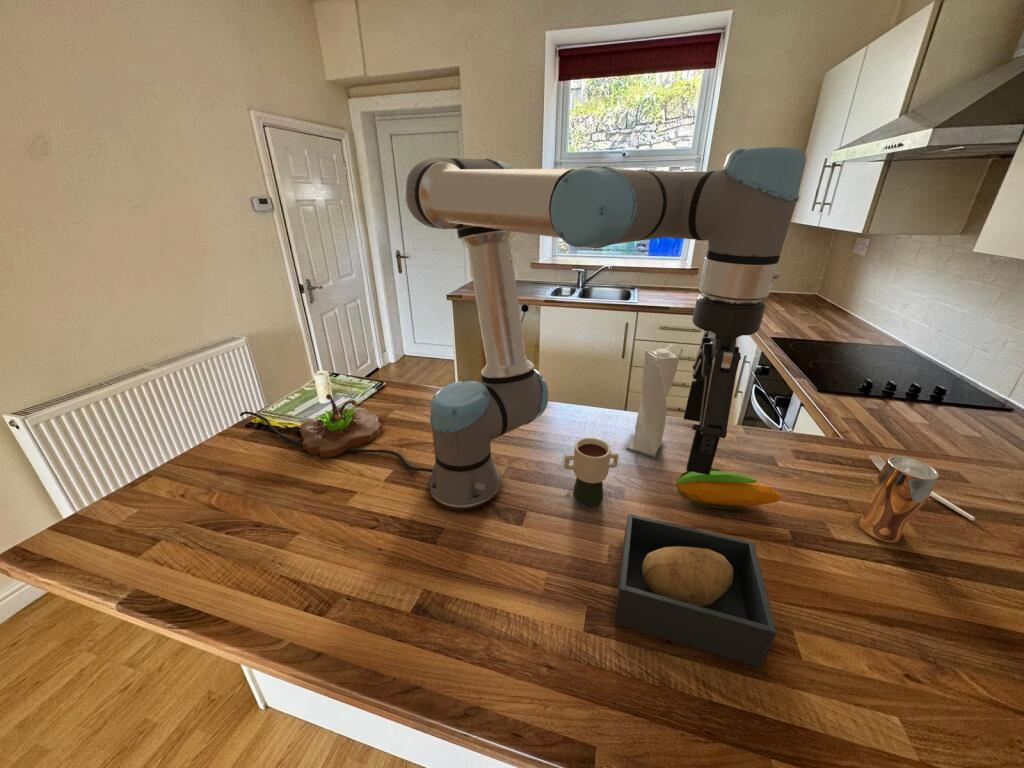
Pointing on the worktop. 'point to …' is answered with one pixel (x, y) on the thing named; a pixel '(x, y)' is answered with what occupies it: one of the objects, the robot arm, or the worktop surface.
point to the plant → (339, 430)
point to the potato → (687, 574)
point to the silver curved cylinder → (897, 497)
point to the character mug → (590, 469)
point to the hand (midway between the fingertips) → (694, 443)
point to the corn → (724, 490)
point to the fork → (881, 465)
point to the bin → (716, 628)
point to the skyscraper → (654, 400)
